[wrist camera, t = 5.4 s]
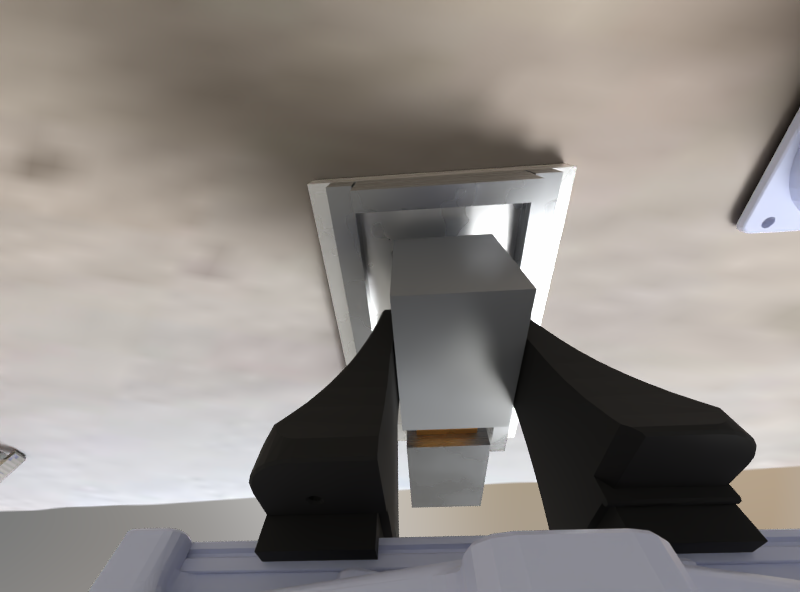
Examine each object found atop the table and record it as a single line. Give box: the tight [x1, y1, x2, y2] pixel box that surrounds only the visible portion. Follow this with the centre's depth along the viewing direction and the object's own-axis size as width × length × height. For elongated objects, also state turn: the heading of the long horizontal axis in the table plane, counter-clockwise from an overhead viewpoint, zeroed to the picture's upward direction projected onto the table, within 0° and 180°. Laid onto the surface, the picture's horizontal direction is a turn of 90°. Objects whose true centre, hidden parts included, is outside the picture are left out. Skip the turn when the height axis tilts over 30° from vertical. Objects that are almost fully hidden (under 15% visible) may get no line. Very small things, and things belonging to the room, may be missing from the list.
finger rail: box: [307, 163, 577, 507], centre depth 15 cm, size 11×18×6 cm, turn 4°
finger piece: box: [390, 234, 537, 431], centre depth 12 cm, size 4×6×4 cm, turn 4°
